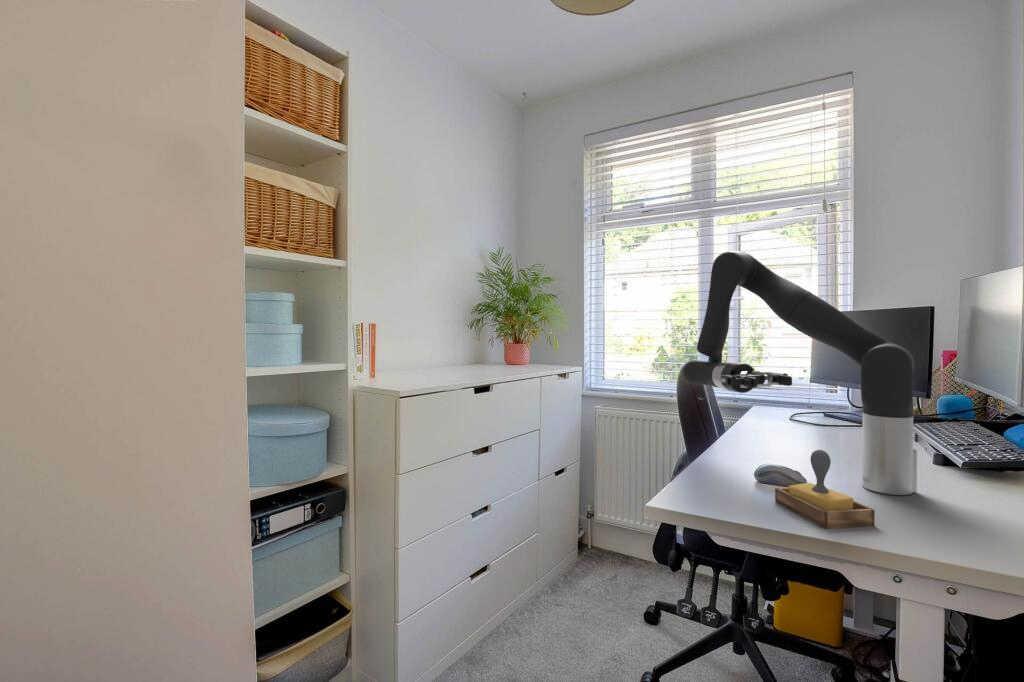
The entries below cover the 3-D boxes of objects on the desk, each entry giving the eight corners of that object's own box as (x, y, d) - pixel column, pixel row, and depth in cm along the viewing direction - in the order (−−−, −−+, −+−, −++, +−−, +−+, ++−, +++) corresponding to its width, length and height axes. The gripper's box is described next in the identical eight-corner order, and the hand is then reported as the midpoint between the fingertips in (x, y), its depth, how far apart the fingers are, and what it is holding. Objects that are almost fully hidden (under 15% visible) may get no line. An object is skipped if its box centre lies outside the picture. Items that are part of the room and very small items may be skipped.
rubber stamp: (854, 516, 95) (854, 454, 94) (831, 520, 93) (831, 457, 93) (809, 499, 104) (809, 443, 104) (787, 502, 102) (788, 445, 102)
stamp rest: (819, 499, 106) (819, 485, 106) (874, 525, 92) (874, 509, 92) (775, 501, 105) (775, 488, 105) (824, 528, 91) (824, 512, 91)
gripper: (707, 363, 127) (743, 367, 111) (758, 361, 129) (801, 364, 113) (708, 392, 127) (744, 400, 111) (759, 389, 129) (802, 396, 113)
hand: (773, 382), depth 112 cm, fingers open, 8 cm apart
